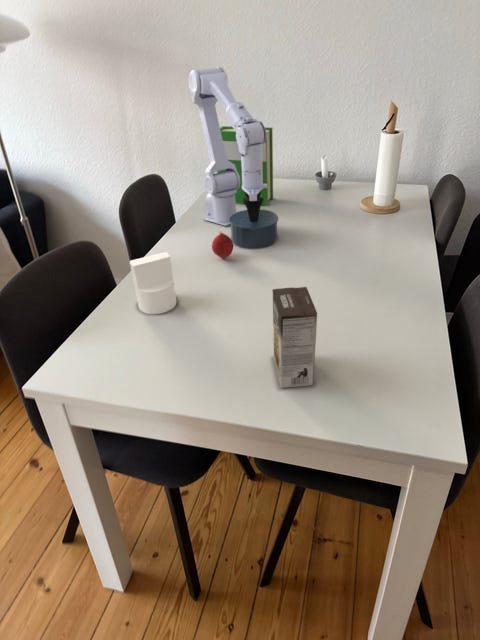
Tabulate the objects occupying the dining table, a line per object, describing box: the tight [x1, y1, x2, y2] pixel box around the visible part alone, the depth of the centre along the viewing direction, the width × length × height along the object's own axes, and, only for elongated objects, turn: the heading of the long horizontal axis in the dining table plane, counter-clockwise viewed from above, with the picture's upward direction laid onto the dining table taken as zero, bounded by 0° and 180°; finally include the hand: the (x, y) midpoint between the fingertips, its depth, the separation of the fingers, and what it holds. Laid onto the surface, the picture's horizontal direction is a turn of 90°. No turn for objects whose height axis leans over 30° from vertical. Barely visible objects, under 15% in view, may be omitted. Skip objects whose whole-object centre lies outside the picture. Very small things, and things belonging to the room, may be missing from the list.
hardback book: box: [216, 125, 274, 207], centre depth 162 cm, size 18×7×24 cm, turn 70°
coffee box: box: [272, 286, 318, 389], centre depth 86 cm, size 9×6×16 cm
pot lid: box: [230, 208, 279, 230], centre depth 137 cm, size 14×14×5 cm
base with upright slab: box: [129, 251, 177, 315], centre depth 110 cm, size 9×9×12 cm
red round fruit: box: [211, 231, 234, 260], centre depth 129 cm, size 6×6×8 cm
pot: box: [230, 222, 278, 250], centre depth 140 cm, size 13×13×6 cm
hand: (253, 216), depth 137 cm, fingers open, 7 cm apart
